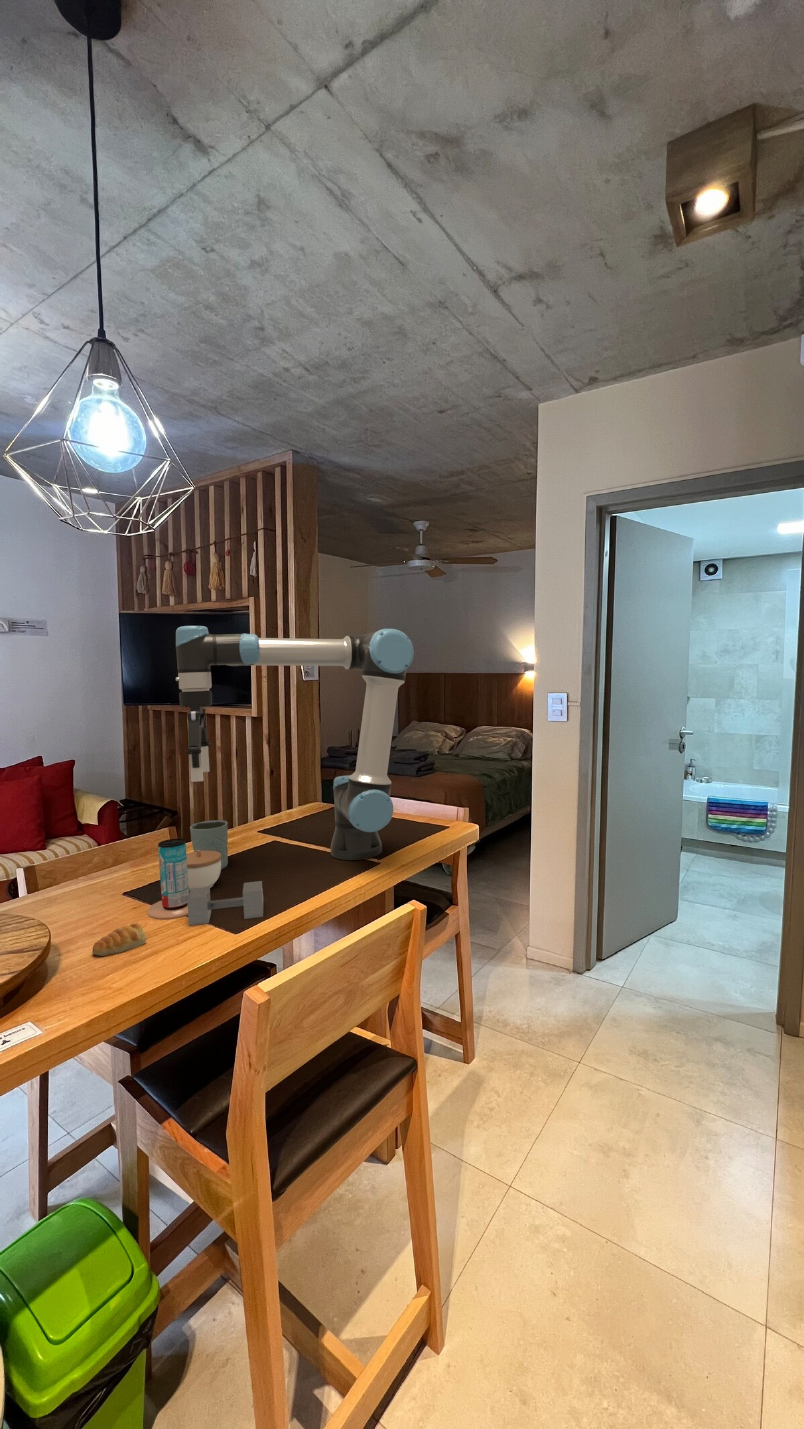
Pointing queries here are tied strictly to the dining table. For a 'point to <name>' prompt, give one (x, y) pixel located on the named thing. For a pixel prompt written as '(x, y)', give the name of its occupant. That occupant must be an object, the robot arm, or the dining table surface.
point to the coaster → (166, 912)
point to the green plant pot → (211, 838)
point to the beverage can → (173, 873)
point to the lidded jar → (203, 868)
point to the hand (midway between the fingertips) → (200, 776)
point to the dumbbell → (224, 903)
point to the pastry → (120, 940)
